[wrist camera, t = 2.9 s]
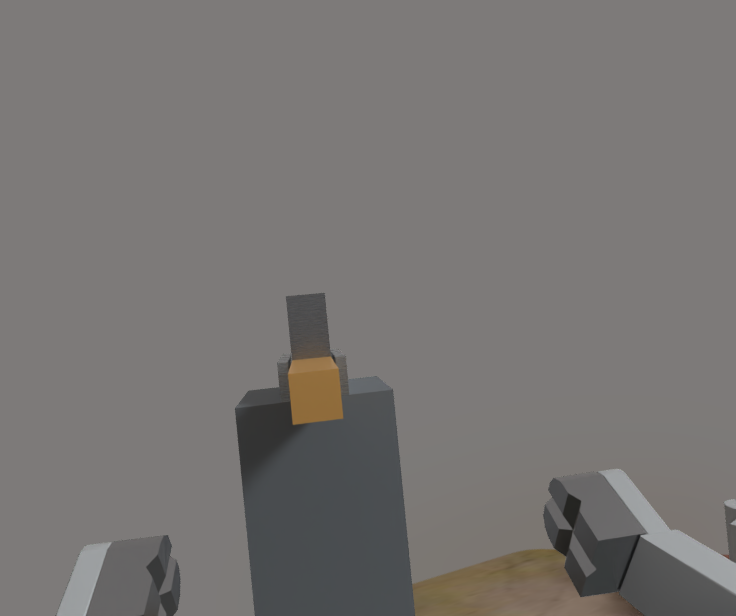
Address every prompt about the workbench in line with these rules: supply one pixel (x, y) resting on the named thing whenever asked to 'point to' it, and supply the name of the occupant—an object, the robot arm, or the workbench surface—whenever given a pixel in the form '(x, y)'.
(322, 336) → the bar
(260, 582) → the stand
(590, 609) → the workbench surface
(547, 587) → the workbench surface
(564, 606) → the workbench surface
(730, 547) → the hinge
